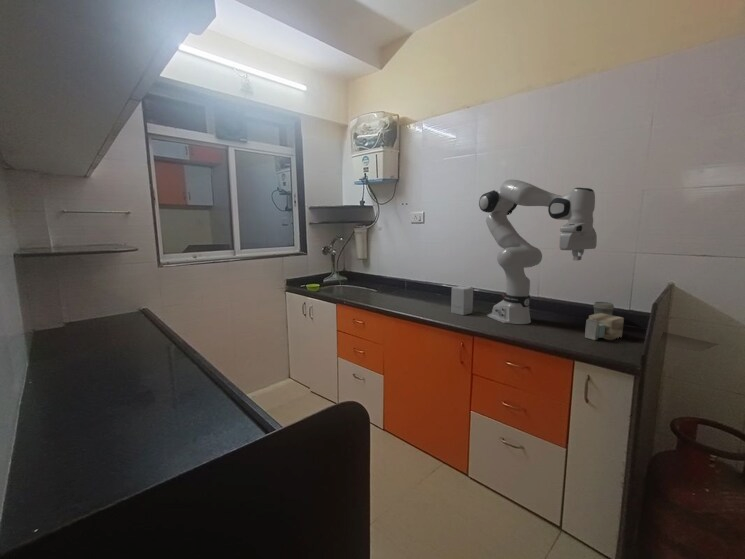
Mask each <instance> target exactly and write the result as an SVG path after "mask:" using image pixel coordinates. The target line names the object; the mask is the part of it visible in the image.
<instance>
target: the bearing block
mask: <svg viewBox="0 0 745 559" xmlns="http://www.w3.org/2000/svg"><path fill="white" fill-rule="evenodd" d="M588 319H592V320H596V321H599V323H600V324H605V335H604V337H601V339H605V340H609V341H613V340H616V338H617V339H619V337H620V338H622V337H623V330H624V322H625V321H624V320H625V318H624V317H622V316H616V315H613V314H612V315H608V314H603V313H597V314H594V313H592V314H590V315H588Z"/></svg>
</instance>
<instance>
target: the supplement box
mask: <svg viewBox="0 0 745 559" xmlns="http://www.w3.org/2000/svg"><path fill="white" fill-rule="evenodd" d="M450 295H451V300H450V302H451V303H450V304H451V305H450V306H451V308H450V312H451V314H456V315H460V316H465V315H468V314H469V315H470V314H472V313H473V306H474V305H473V303H474V302H473V300H474V287H471V286H466V285H464V286H463V285H458V286H453V287H451V294H450Z"/></svg>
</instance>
